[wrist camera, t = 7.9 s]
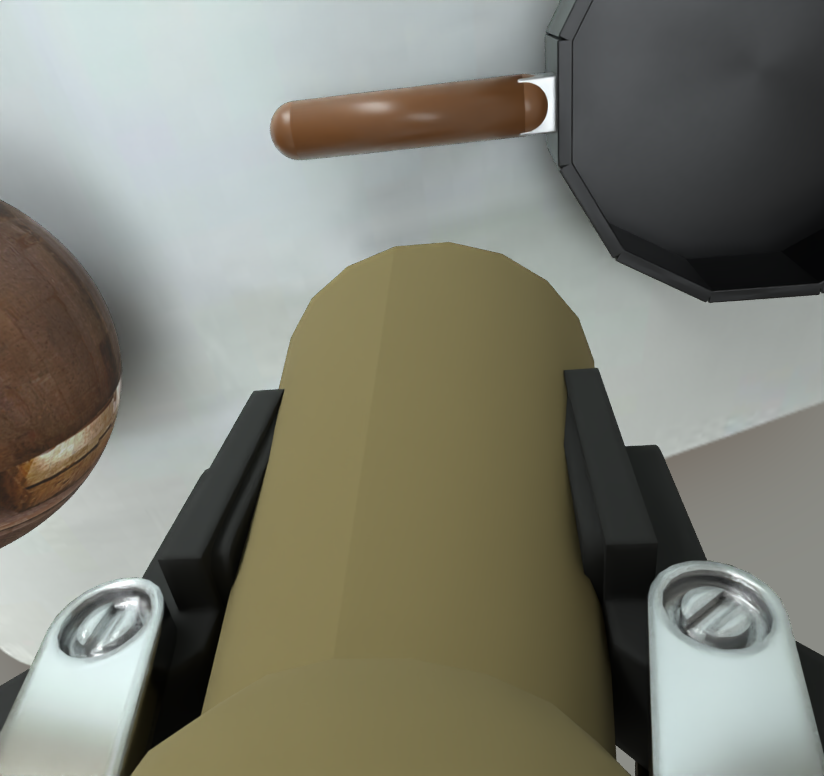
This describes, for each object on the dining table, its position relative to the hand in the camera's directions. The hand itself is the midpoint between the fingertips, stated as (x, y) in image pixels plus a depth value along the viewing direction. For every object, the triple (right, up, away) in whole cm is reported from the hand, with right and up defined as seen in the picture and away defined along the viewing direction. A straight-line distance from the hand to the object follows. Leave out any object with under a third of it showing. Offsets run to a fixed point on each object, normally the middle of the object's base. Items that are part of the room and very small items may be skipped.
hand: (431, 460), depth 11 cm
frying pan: (+7, +13, +14) cm, 20 cm away
